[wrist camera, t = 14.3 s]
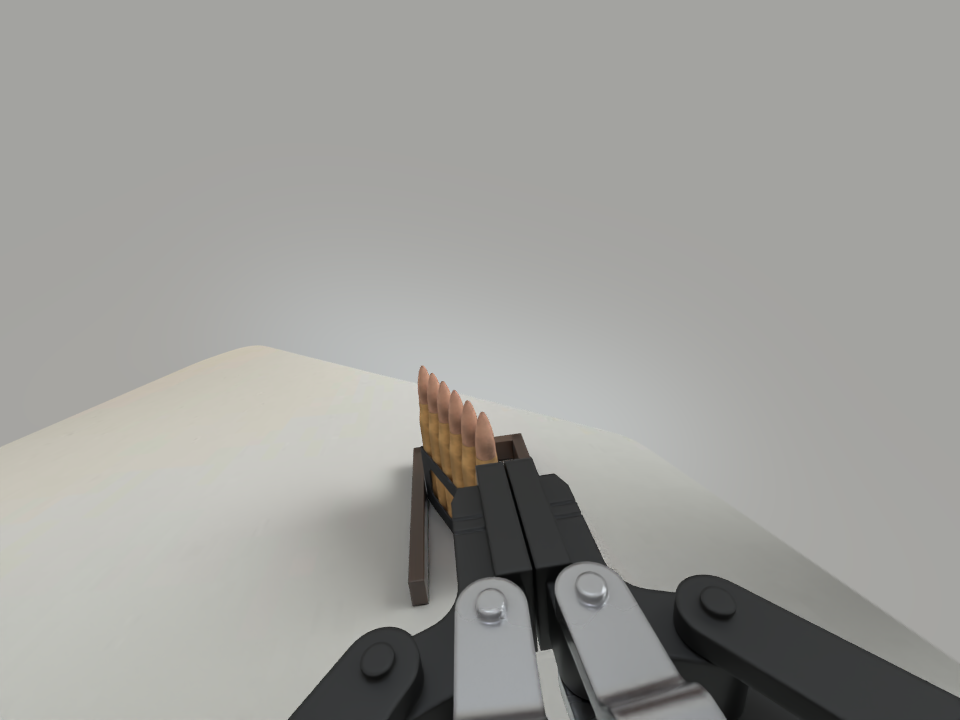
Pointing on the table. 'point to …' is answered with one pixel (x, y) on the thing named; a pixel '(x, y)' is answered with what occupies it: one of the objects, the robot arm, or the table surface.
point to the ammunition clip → (450, 442)
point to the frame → (419, 515)
